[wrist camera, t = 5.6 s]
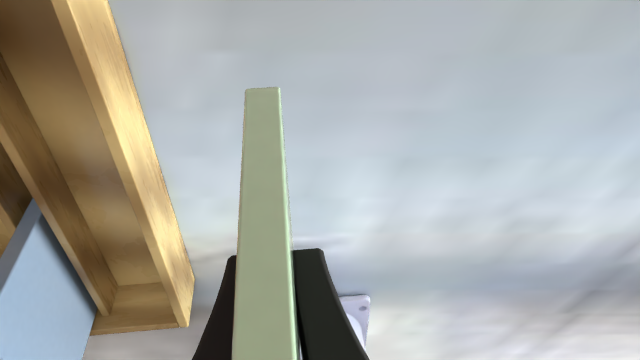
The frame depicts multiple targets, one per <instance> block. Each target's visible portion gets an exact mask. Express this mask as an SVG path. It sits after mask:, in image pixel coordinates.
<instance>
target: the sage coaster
mask: <svg viewBox="0 0 640 360" xmlns="http://www.w3.org/2000/svg"><path fill="white" fill-rule="evenodd" d="M292 250H294V249H293V237H292V225H291V213H290V201H289V189H288V176H287V164H286V152H285V140H284V128H283V115H282V103H281V91H280V88H279V87H267V88H251V89H246V91H245V102H244V121H243V141H242V161H241V181H240V200H239V220H238V240H237V260H236V279H235V299H234V319H233V339H232V358H231V360H302V359H301V347H300V340H299V328H298V316H297V305H296V293H295V282H294V267H293V251H292Z"/></svg>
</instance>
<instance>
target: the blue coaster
mask: <svg viewBox="0 0 640 360" xmlns="http://www.w3.org/2000/svg"><path fill="white" fill-rule="evenodd" d="M97 308H98V307H97V306H96V304H95V302H94V300H93V299H92V297H91V295H90V294H89V292H88V290H87V289H86V287H85V285H84V283H83V282H82V280H81V278H80V277H79V275H78V273H77V271H76V270H75V268H74V266H73V265H72V263H71V261H70V260H69V258H68V256H67V254H66V253H65V251H64V249H63V248H62V246H61V244H60V242H59V241H58V239H57V237H56V236H55V234H54V232H53V231H52V229H51V227H50V225H49V224H48V222H47V220H46V219H45V217H44V215H43V213H42V212H41V210H40V208H39V207H38V205H37V203H36V202H35V200H34V198H32V200H31V202H30V203H29V205H28V207H27V209H26V211H25V213H24V215H23V217H22V218H21V220H20V222H19V224H18V226H17V228H16V230H15V231H14V233H13V235H12V237H11V239H10V241H9V243H8V245H7V246H6V248H5V250H4V252H3V254H2V256H1V258H0V360H82V358H83V354H84V351H85V348H86V344H87V341H88V338H89V335H90V331H91V328H92V325H93V321H94V318H95V315H96V312H97Z"/></svg>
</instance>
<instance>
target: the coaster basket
mask: <svg viewBox="0 0 640 360" xmlns="http://www.w3.org/2000/svg"><path fill="white" fill-rule="evenodd" d="M32 198H34V200H35V202H36V203H37V205H38V207H39V208H40V210H41V212H42V213H43V215H44V217H45V219H46V220H47V222H48V224H49V225H50V227H51V229H52V231H53V232H54V234H55V236H56V237H57V239H58V241H59V242H60V244H61V246H62V248H63V249H64V251H65V253H66V254H67V256H68V258H69V260H70V261H71V263H72V265H73V266H74V268H75V270H76V271H77V273H78V275H79V277H80V278H81V280H82V282H83V283H84V285H85V287H86V289H87V290H88V292H89V294H90V295H91V297H92V299H93V300H94V302H95V304H96V306H97V307H98V308H97V312H96V315H95V318H94V321H93V325H92V328H91V331H90V335H89V336H92V335H103V334H114V333H125V332H136V331H147V330H158V329H169V328H179V327H180V328H181V327H188V326H189V319H190V312H191V304H192V296H193V288H194V281H195V278H194V275H193V272H192V269H191V265H190V262H189V259H188V256H187V253H186V249H185V246H184V243H183V240H182V237H181V233H180V230H179V227H178V224H177V221H176V217H175V214H174V211H173V208H172V205H171V201H170V198H169V195H168V192H167V189H166V185H165V182H164V179H163V176H162V173H161V170H160V166H159V163H158V160H157V157H156V154H155V150H154V147H153V144H152V141H151V138H150V134H149V131H148V128H147V125H146V122H145V118H144V115H143V112H142V109H141V106H140V102H139V99H138V96H137V93H136V90H135V86H134V83H133V80H132V77H131V74H130V70H129V67H128V64H127V61H126V58H125V54H124V51H123V48H122V45H121V42H120V38H119V35H118V32H117V29H116V26H115V22H114V19H113V16H112V13H111V10H110V6H109V3H108V0H0V258H1V256H2V254H3V252H4V250H5V248H6V246H7V245H8V243H9V241H10V239H11V237H12V235H13V233H14V231H15V230H16V228H17V226H18V224H19V222H20V220H21V218H22V217H23V215H24V213H25V211H26V209H27V207H28V205H29V203H30V202H31V200H32Z"/></svg>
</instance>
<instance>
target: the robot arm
mask: <svg viewBox="0 0 640 360" xmlns="http://www.w3.org/2000/svg"><path fill="white" fill-rule="evenodd" d="M292 251H293V267H294V282H295V293H296V305H297V316H298V328H299V340H300V347H301V359H302V360H369V358H368V356H367V354H366V351H365V346H366V337H367V328H368V320H369V311H370V298H369V297H368V296H366V295H357V296H345V297H338V294H337V292H336V289H335V287H334V285H333V282H332V279H331V276H330V274H329V271H328V267H327V264H326V261H325V257H324V252H323V251H322V250H321V249H319V248H315V249H304V250H292ZM236 260H237V255H233V256H231V257H230V258H229V259H228V261H227V265H226V269H225V273H224V277H223V280H222V283H221V287H220V290H219V293H218V296H217V299H216V301H215V304H214V307H213V310H212V313H211V315H210V318H209V320H208V323H207V325H206V328H205V330H204V333H203V335H202V338H201V340H200V343H199V345H198V347H197V350H196V352H195V354H194V356H193V358H192V360H231V358H232V339H233V319H234V299H235V279H236Z"/></svg>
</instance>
